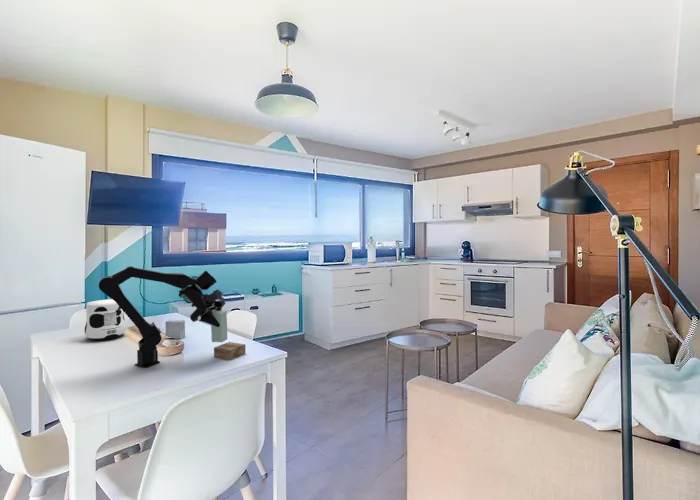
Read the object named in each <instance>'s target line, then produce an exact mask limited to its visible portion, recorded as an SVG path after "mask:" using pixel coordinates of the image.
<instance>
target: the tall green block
mask: <svg viewBox="0 0 700 500" xmlns="http://www.w3.org/2000/svg"><path fill="white" fill-rule="evenodd" d="M227 313H228V311H227V310H221V311H214V312H212V315H213V316H214V317H215V319H216V320H217V321H218V323H219V324H220V326H219V327H216V326H214V325H211V324H210V325H211V326H210V327H211V328H210V329H211V330H210V331H211V343H223V342H225V341H227V340H228V319H227V318H228V317H227V316H228V315H227Z"/></svg>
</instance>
